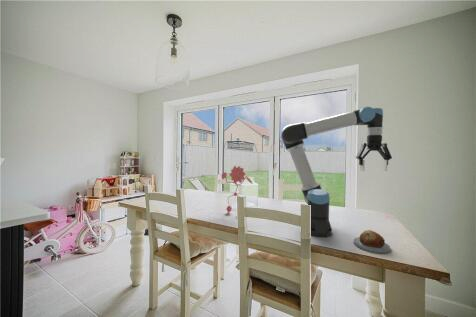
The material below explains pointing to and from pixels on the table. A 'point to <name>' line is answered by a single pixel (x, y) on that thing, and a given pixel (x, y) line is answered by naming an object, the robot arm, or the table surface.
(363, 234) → the bread roll
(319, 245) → the table surface
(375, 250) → the plate
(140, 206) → the table surface
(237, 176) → the red flower ornament
